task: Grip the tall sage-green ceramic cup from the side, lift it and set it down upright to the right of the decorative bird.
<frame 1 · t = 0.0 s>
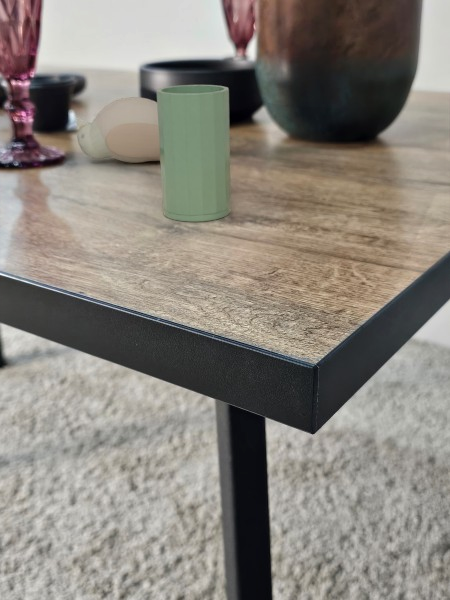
decorative bird: (147, 163, 88), on the table
cup: (197, 212, 68), on the table
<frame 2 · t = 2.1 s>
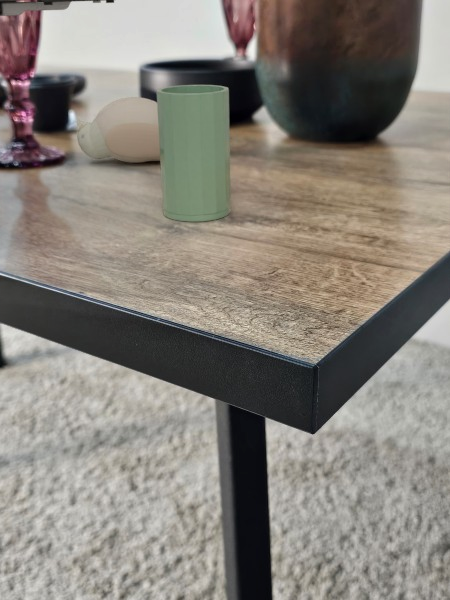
nothing on the table moved.
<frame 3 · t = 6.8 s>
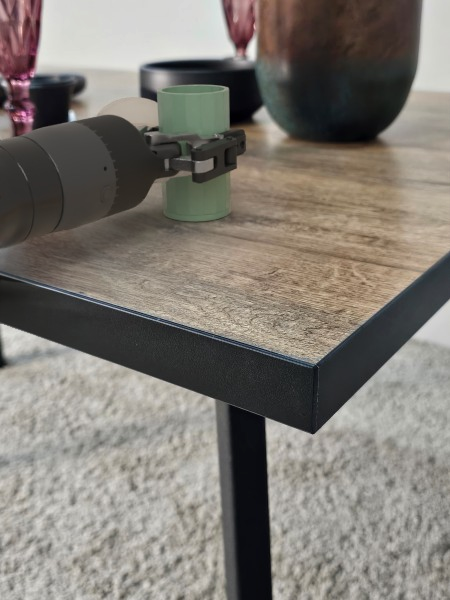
hand: (210, 137, 68), 7 cm above the table, tool horizontal, fingers closed on cup, 6 cm apart
cup: (197, 211, 68), on the table, touching gripper
everything else where it was.
when the fingers open (6 cm above the table, at t = 15.1 s): cup stays where it is, on the table.
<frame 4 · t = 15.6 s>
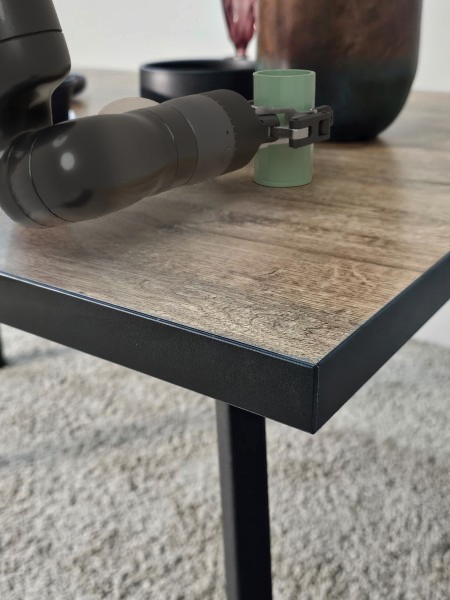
hand: (292, 112, 78), 7 cm above the table, tool horizontal, fingers open, 8 cm apart
cup: (282, 179, 79), on the table
everything else where it was.
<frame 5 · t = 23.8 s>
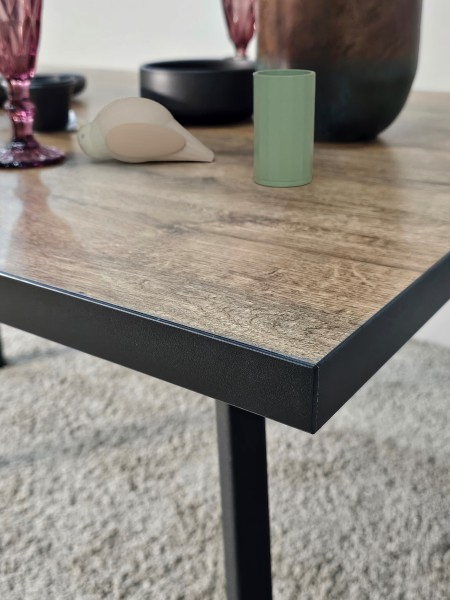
nothing on the table moved.
at the end: cup inside the target area on the table beside the decorative bird (0.6 cm from its centre), on the table; cup tilted 0°; cup moved 14.5 cm from its start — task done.
